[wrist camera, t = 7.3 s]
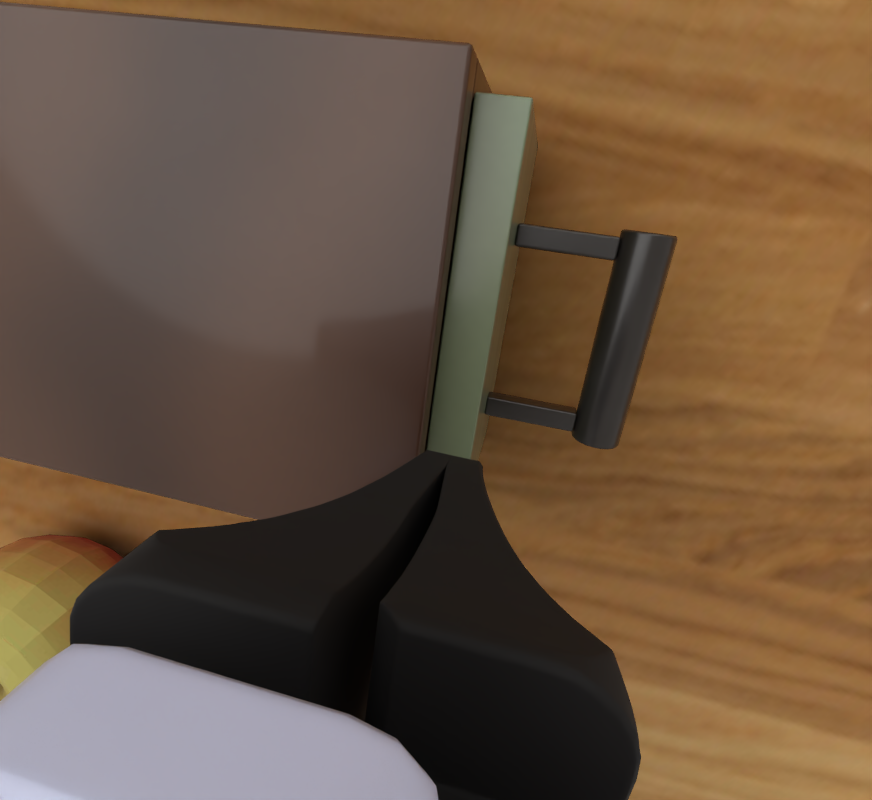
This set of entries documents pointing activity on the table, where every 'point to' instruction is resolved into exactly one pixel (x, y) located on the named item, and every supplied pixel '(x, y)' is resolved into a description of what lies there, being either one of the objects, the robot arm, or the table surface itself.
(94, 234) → the cabinet
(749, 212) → the table surface
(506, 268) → the drawer
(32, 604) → the apple
